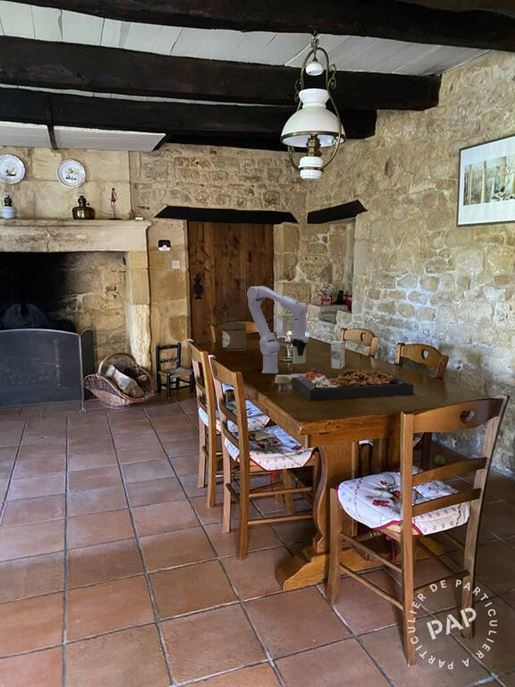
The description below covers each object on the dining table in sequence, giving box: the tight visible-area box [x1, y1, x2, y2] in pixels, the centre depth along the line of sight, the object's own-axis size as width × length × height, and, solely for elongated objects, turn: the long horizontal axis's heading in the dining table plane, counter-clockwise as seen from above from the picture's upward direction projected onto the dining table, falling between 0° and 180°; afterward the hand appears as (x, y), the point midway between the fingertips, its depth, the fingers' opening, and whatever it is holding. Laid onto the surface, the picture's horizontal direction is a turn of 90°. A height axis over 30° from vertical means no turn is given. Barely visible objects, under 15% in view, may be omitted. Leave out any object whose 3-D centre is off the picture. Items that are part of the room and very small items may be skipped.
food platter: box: [293, 364, 414, 402], centre depth 217 cm, size 45×25×10 cm, turn 101°
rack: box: [274, 374, 292, 381], centre depth 239 cm, size 5×8×2 cm, turn 86°
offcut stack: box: [274, 376, 291, 384], centre depth 232 cm, size 2×7×3 cm, turn 88°
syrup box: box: [330, 339, 346, 370], centre depth 263 cm, size 6×6×14 cm
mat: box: [290, 373, 308, 379], centre depth 245 cm, size 8×8×1 cm
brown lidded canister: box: [221, 317, 247, 351], centre depth 311 cm, size 15×15×22 cm
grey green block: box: [292, 345, 307, 364], centre depth 243 cm, size 2×6×8 cm, turn 115°
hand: (299, 355), depth 243 cm, fingers closed on grey green block, 2 cm apart
